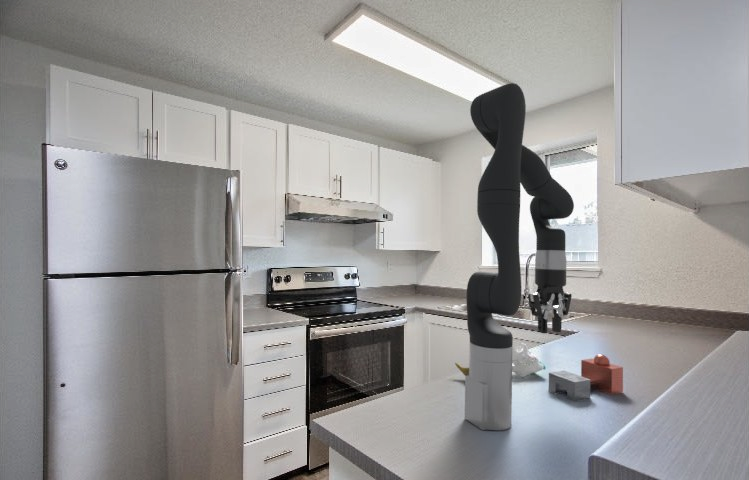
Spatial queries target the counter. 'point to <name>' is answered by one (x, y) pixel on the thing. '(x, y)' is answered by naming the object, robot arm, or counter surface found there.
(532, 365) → the jaw support
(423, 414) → the counter surface
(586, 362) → the red domed block
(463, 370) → the neti pot
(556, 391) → the block
